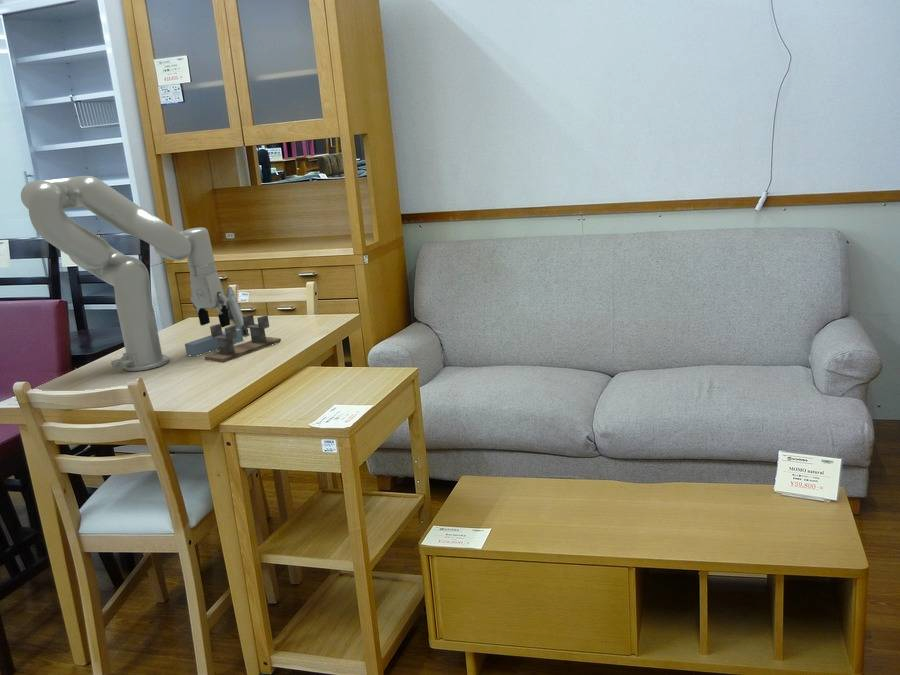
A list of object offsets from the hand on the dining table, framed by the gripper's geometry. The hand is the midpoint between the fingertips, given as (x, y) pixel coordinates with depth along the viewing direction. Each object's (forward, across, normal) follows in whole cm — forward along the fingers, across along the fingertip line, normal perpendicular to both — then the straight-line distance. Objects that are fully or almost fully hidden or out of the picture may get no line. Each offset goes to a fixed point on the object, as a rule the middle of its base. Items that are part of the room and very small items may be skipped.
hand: (215, 325), depth 244 cm
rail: (+7, 0, -1) cm, 7 cm away
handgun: (+8, -16, +20) cm, 27 cm away
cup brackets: (+7, +12, 0) cm, 14 cm away
